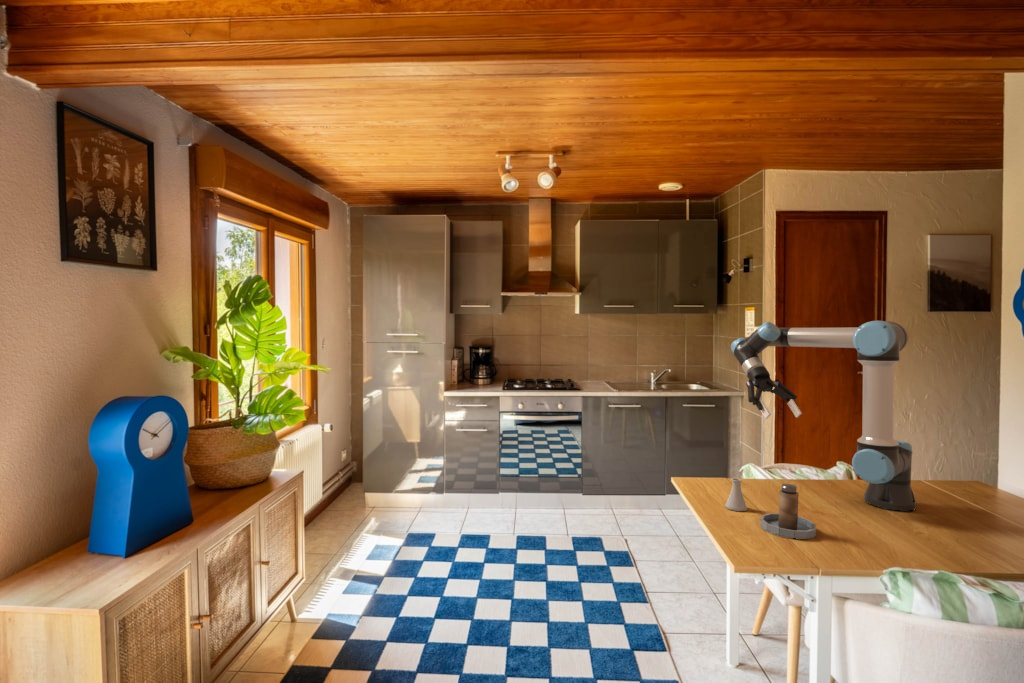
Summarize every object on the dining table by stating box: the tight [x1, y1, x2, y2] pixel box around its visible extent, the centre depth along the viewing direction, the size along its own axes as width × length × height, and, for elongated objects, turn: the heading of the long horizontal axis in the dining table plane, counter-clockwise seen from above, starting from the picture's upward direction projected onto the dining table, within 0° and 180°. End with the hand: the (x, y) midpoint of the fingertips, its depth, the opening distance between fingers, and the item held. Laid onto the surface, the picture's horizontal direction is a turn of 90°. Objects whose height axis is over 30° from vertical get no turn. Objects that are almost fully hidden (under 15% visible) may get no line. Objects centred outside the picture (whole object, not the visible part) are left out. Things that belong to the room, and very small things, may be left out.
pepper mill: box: [778, 483, 799, 530], centre depth 164 cm, size 5×5×13 cm
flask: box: [724, 477, 748, 512], centre depth 183 cm, size 7×7×10 cm
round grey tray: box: [760, 512, 817, 540], centre depth 164 cm, size 15×15×2 cm
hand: (783, 416), depth 196 cm, fingers open, 13 cm apart
